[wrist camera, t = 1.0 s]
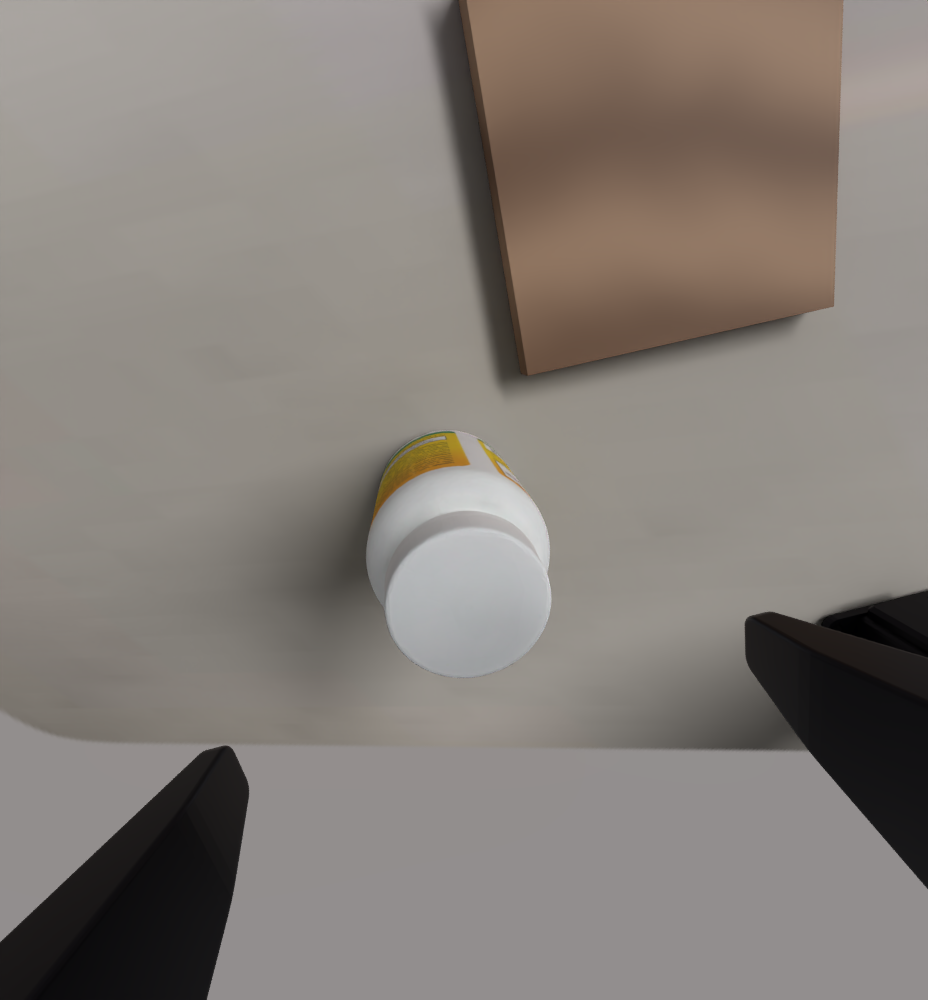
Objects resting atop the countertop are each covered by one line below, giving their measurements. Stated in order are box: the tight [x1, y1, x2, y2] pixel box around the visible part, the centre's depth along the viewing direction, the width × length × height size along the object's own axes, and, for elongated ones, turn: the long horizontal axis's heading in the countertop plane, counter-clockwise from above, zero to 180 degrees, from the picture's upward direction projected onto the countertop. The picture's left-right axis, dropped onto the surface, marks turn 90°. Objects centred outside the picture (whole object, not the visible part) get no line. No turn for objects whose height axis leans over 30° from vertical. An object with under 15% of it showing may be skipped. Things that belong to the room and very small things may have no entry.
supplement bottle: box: [366, 430, 551, 678], centre depth 16 cm, size 5×5×10 cm
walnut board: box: [458, 0, 843, 376], centre depth 17 cm, size 12×12×1 cm
